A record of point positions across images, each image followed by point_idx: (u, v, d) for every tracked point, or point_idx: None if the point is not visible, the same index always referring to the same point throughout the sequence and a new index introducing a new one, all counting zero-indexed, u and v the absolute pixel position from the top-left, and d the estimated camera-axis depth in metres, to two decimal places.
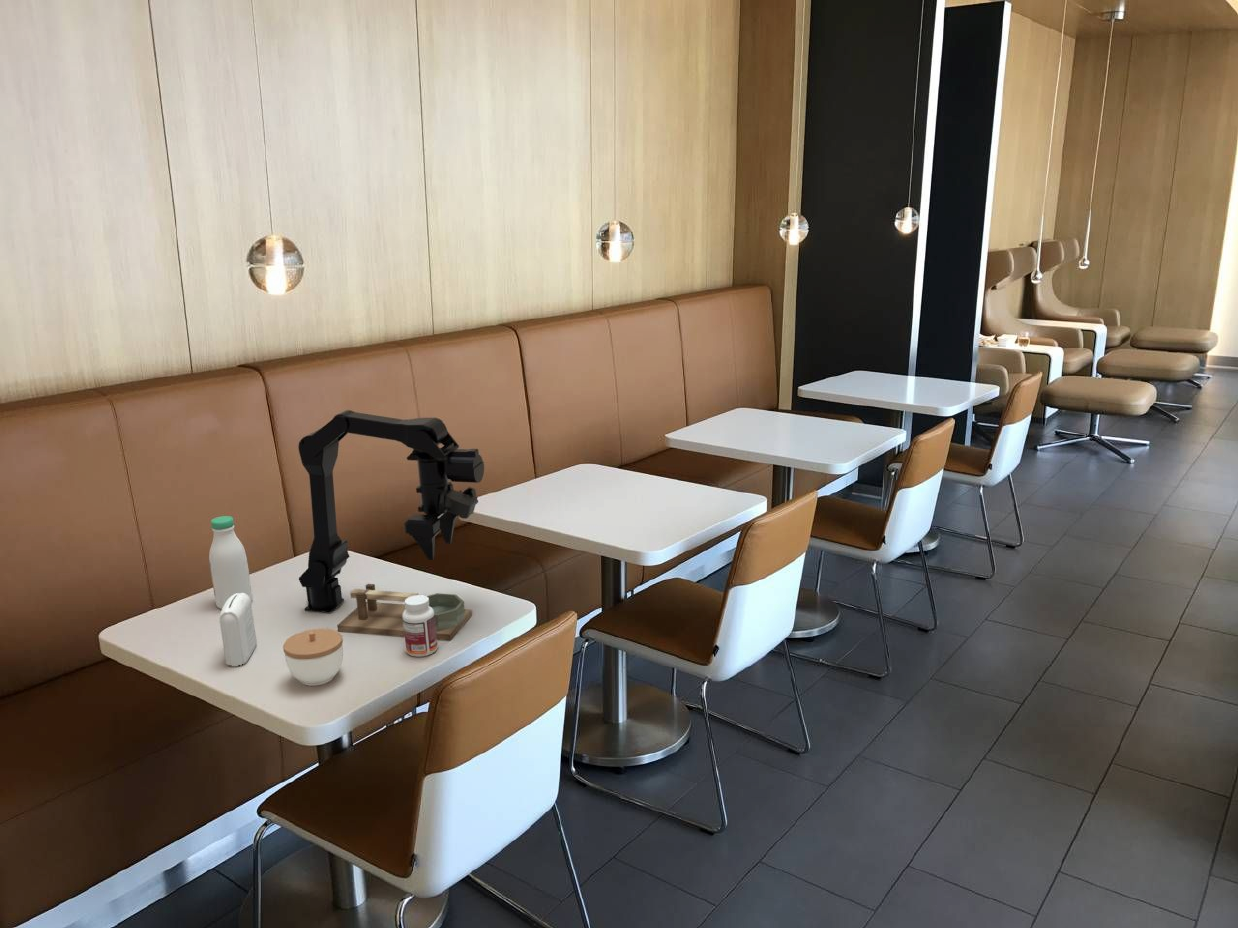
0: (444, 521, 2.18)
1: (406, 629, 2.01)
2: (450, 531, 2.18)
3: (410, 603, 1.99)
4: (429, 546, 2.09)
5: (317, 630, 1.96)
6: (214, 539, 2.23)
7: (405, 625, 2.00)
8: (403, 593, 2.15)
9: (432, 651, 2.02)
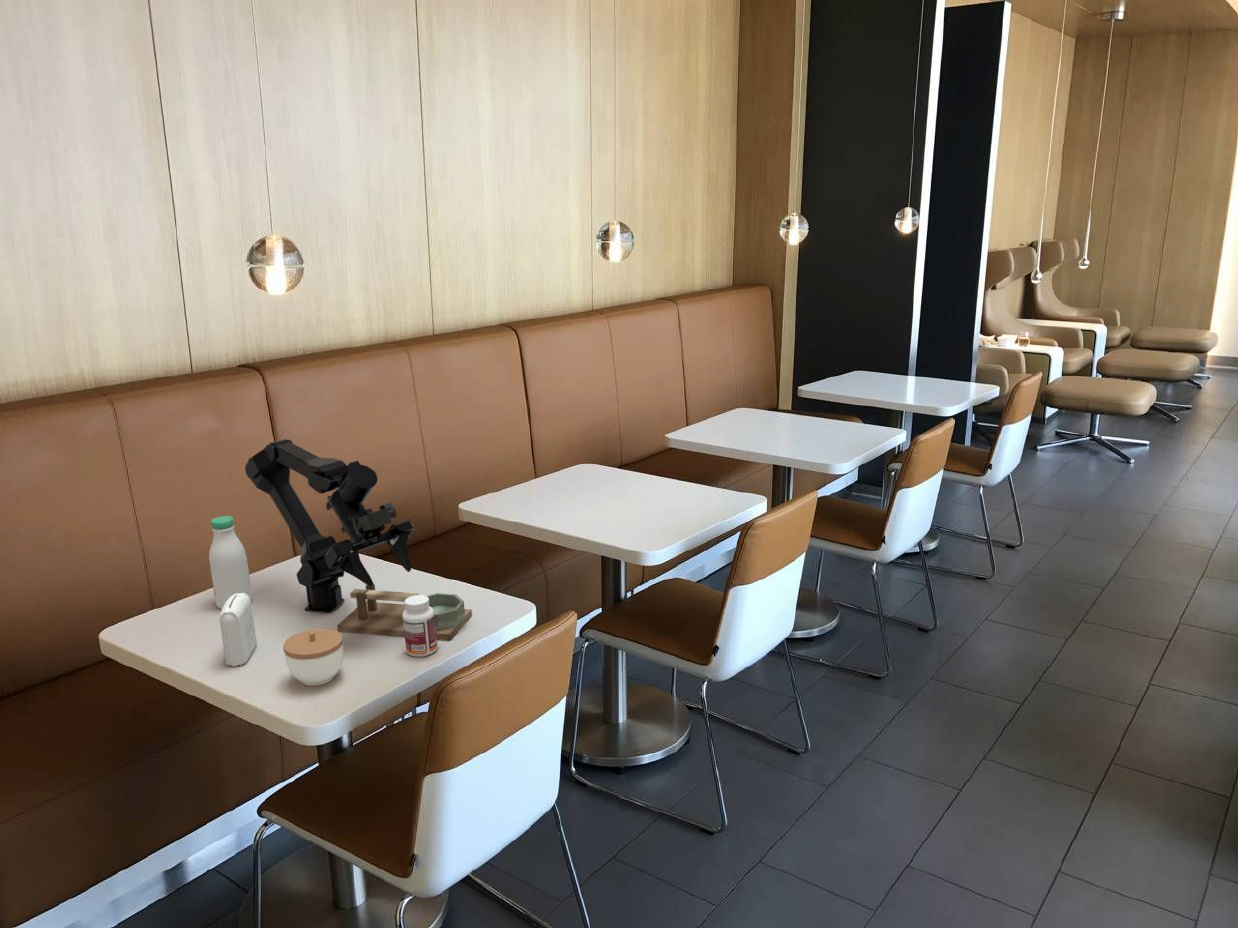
0: (398, 552, 2.10)
1: (406, 629, 2.01)
2: (404, 558, 2.09)
3: (410, 603, 1.99)
4: (359, 572, 2.02)
5: (317, 630, 1.96)
6: (214, 539, 2.23)
7: (405, 625, 2.00)
8: (403, 593, 2.15)
9: (432, 651, 2.02)
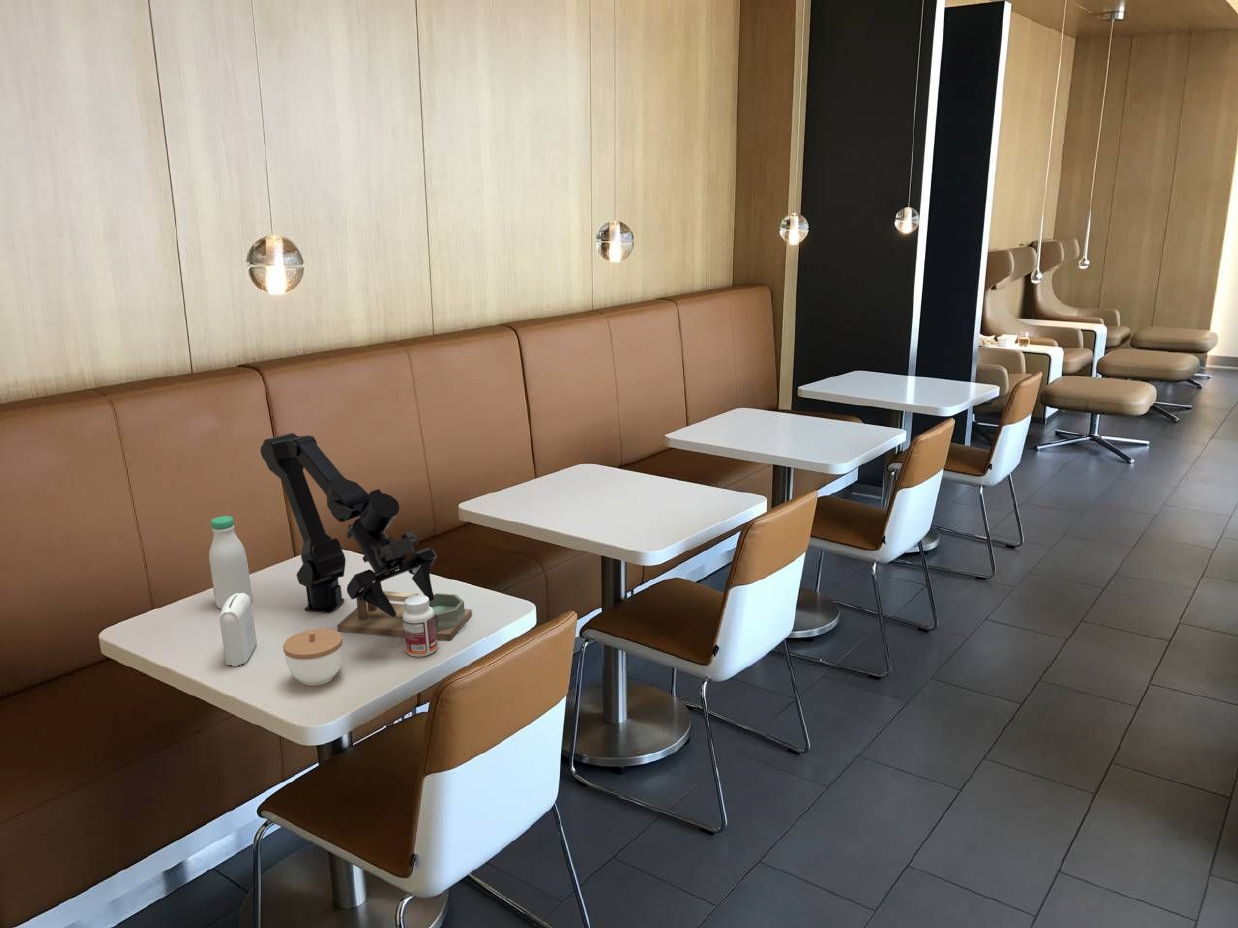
0: (420, 581, 2.07)
1: (406, 629, 2.01)
2: (426, 587, 2.06)
3: (410, 603, 1.99)
4: (382, 602, 1.99)
5: (317, 630, 1.96)
6: (214, 539, 2.23)
7: (405, 625, 2.00)
8: (403, 593, 2.15)
9: (432, 651, 2.02)
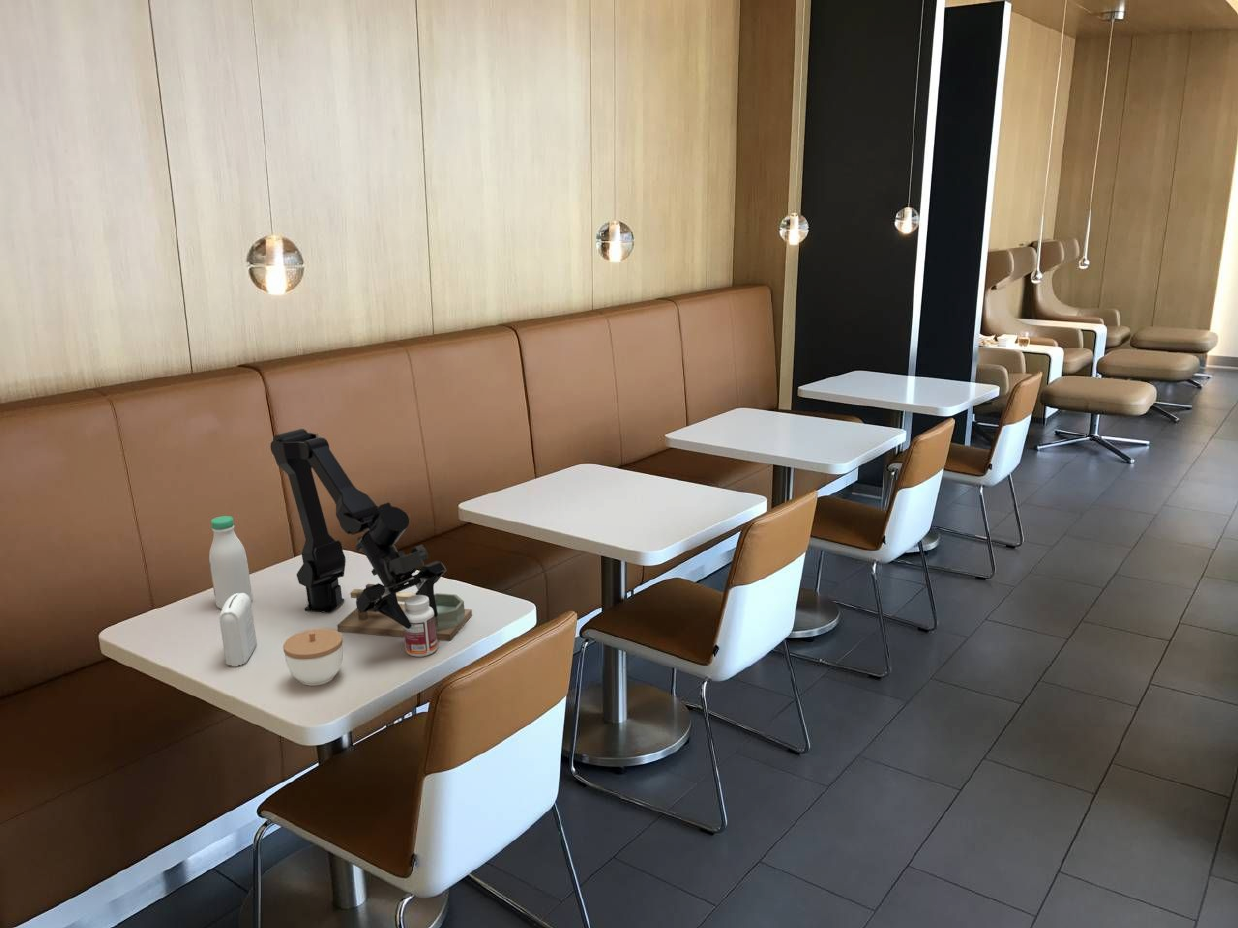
0: None
1: (406, 629, 2.01)
2: (430, 603, 2.04)
3: (410, 603, 1.99)
4: (397, 614, 1.99)
5: (317, 630, 1.96)
6: (214, 539, 2.23)
7: None
8: (403, 593, 2.15)
9: (432, 651, 2.02)
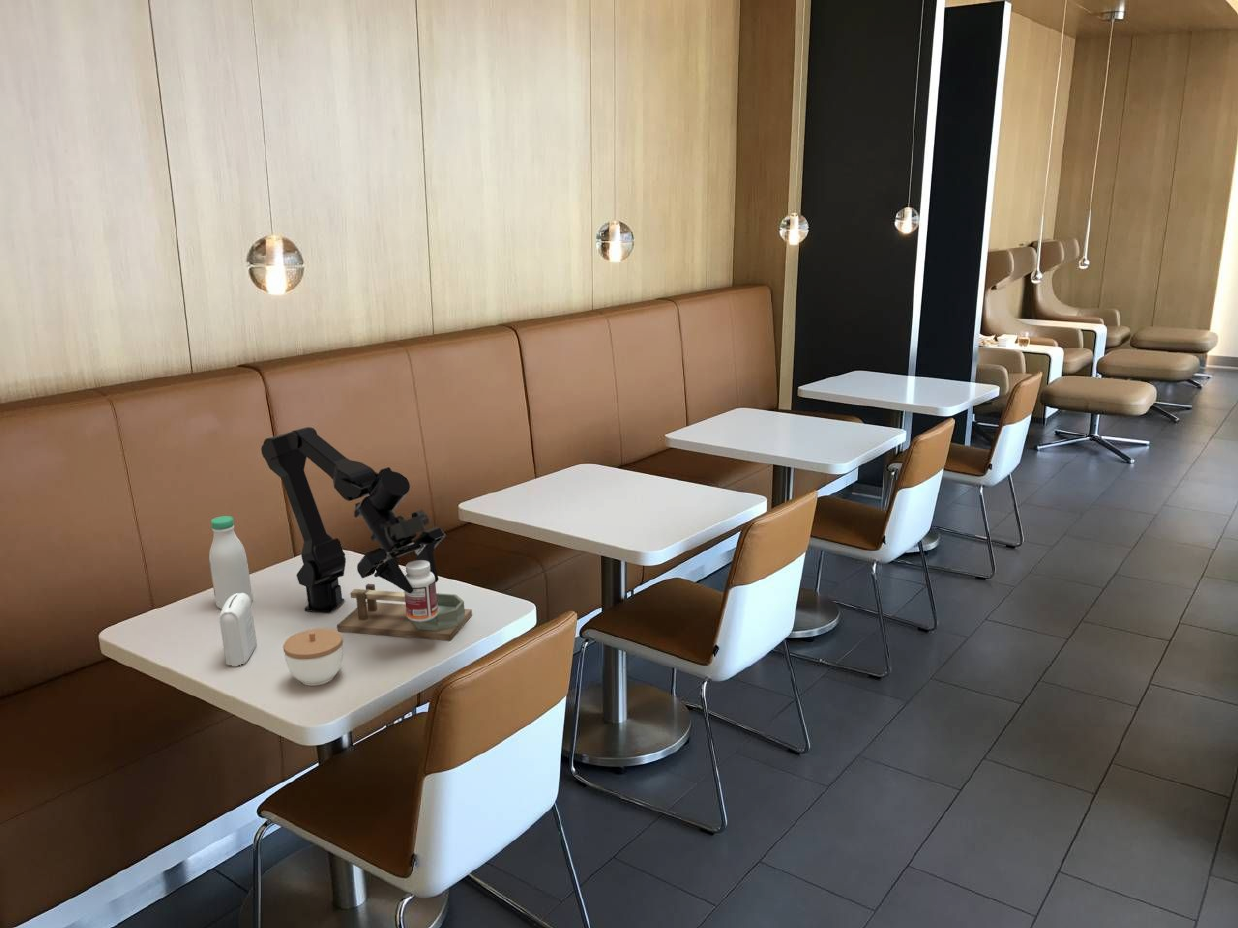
0: None
1: (407, 594, 2.00)
2: (431, 568, 2.04)
3: (412, 568, 1.99)
4: (398, 578, 1.98)
5: (317, 630, 1.96)
6: (214, 539, 2.23)
7: None
8: (403, 593, 2.15)
9: (433, 615, 2.02)
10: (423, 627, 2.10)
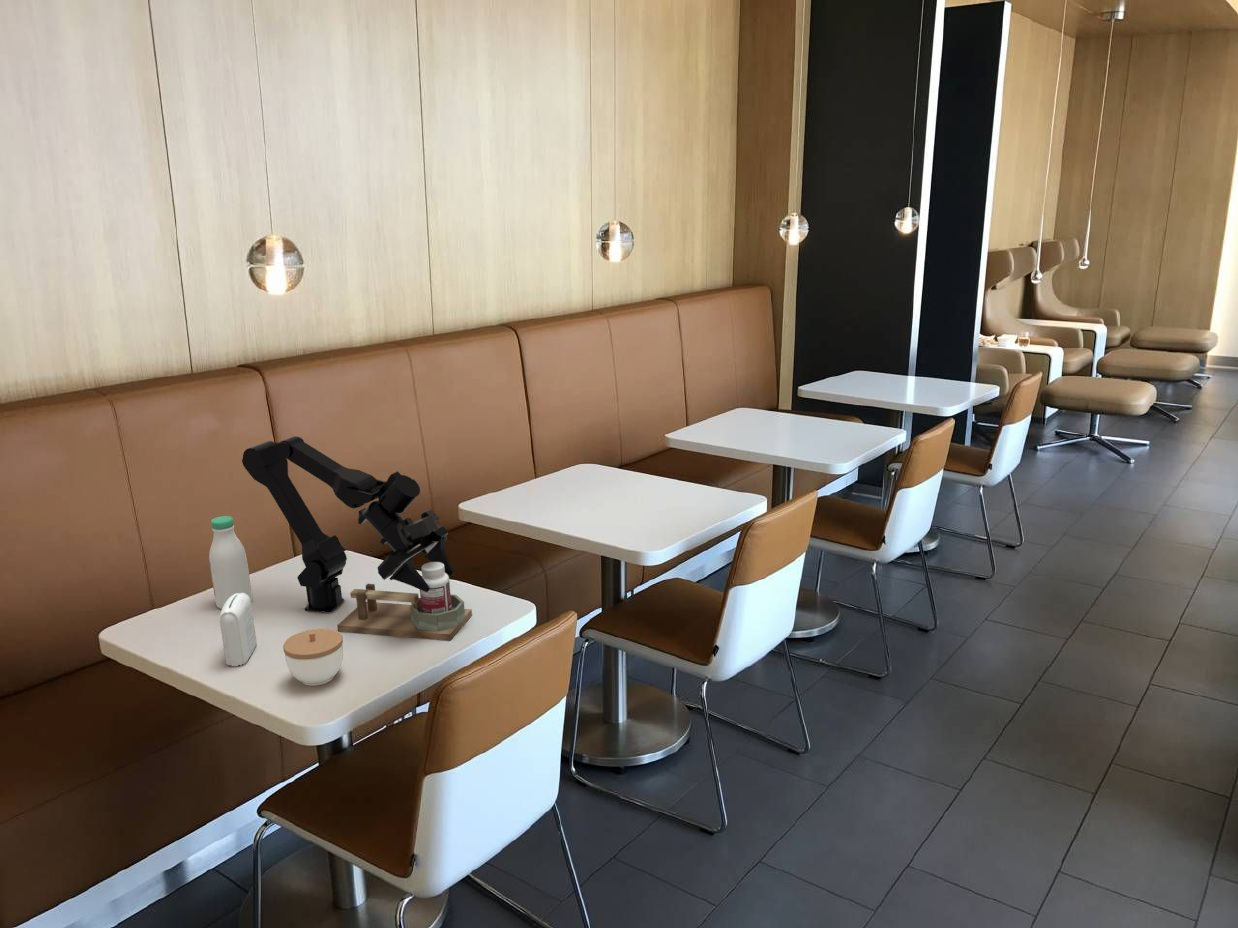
0: (436, 557, 2.16)
1: (425, 595, 2.10)
2: (445, 562, 2.15)
3: (429, 569, 2.09)
4: (415, 579, 2.06)
5: (317, 630, 1.96)
6: (214, 539, 2.23)
7: (424, 591, 2.10)
8: (403, 593, 2.15)
9: None
10: (423, 627, 2.10)
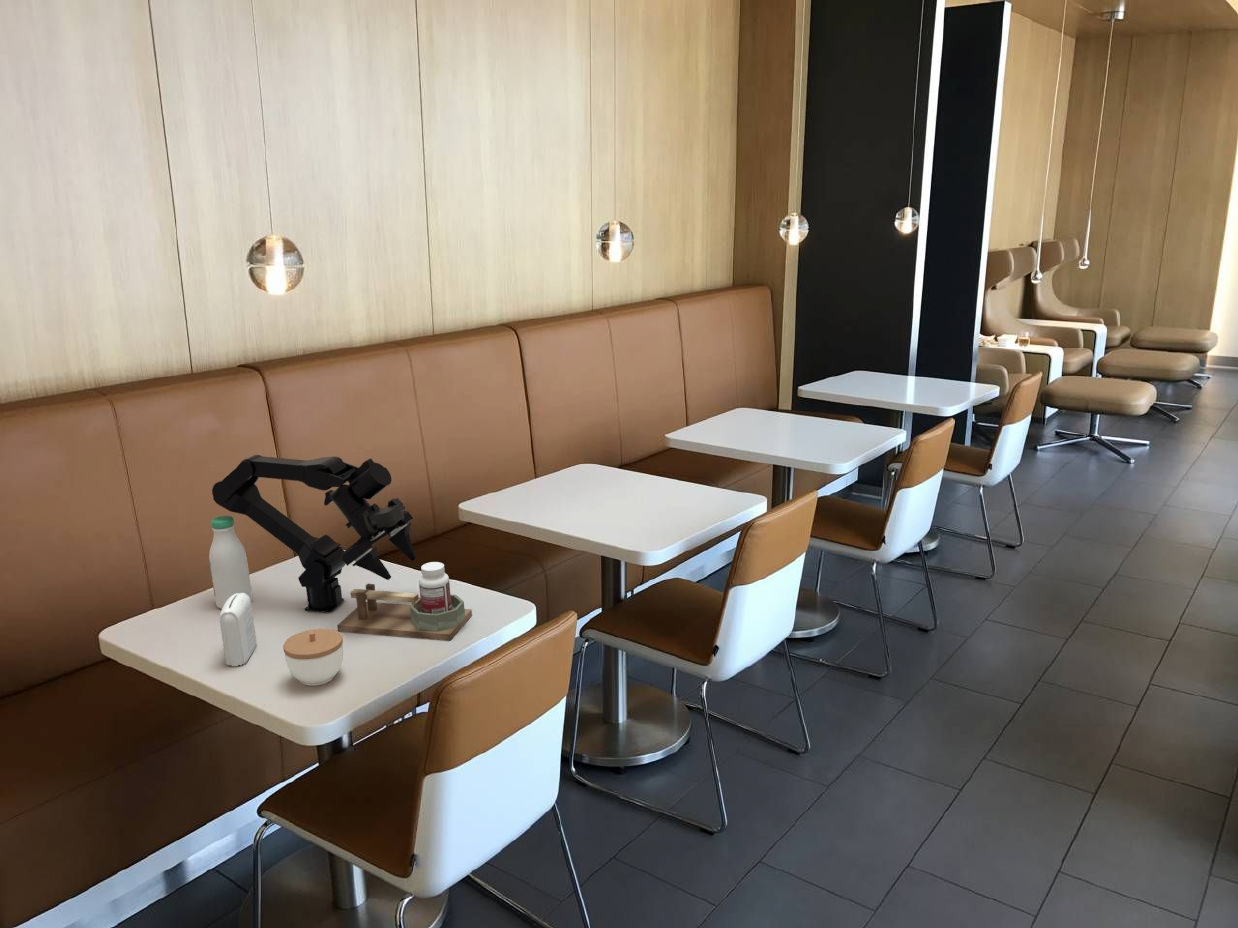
0: (400, 542, 2.21)
1: (425, 595, 2.10)
2: (408, 548, 2.20)
3: (429, 569, 2.09)
4: (378, 567, 2.12)
5: (317, 630, 1.96)
6: (214, 539, 2.23)
7: (424, 591, 2.10)
8: (403, 593, 2.15)
9: None
10: (423, 627, 2.10)
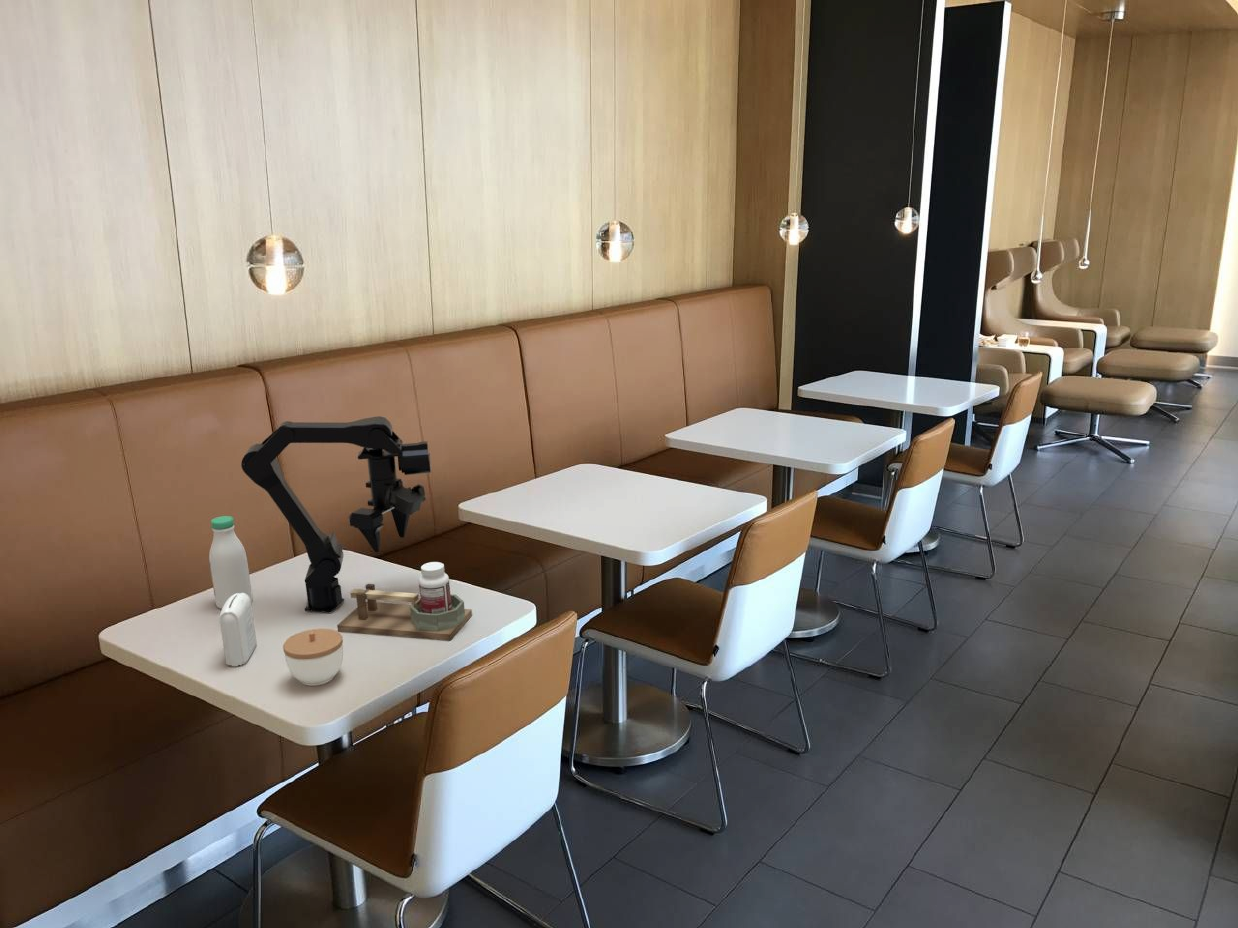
0: (398, 516, 2.28)
1: (425, 595, 2.10)
2: (403, 526, 2.27)
3: (429, 569, 2.09)
4: (374, 539, 2.18)
5: (317, 630, 1.96)
6: (214, 539, 2.23)
7: (424, 591, 2.10)
8: (403, 593, 2.15)
9: None
10: (423, 627, 2.10)
